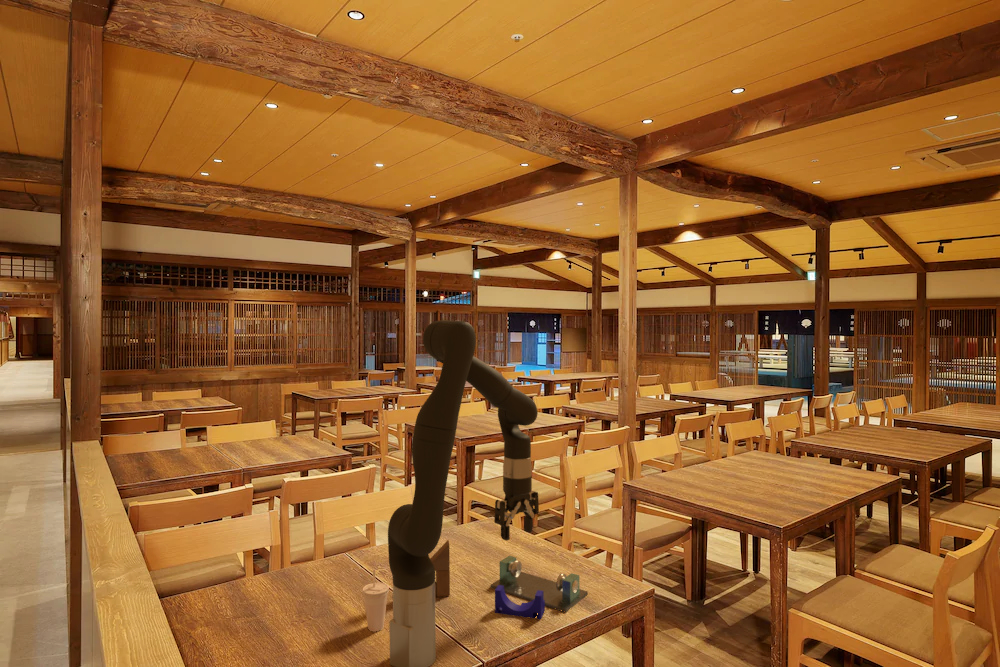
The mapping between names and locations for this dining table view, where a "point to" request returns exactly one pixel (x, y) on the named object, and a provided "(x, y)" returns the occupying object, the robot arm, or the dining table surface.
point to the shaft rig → (539, 585)
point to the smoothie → (375, 603)
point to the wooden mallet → (442, 570)
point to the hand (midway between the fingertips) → (517, 535)
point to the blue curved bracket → (524, 610)
